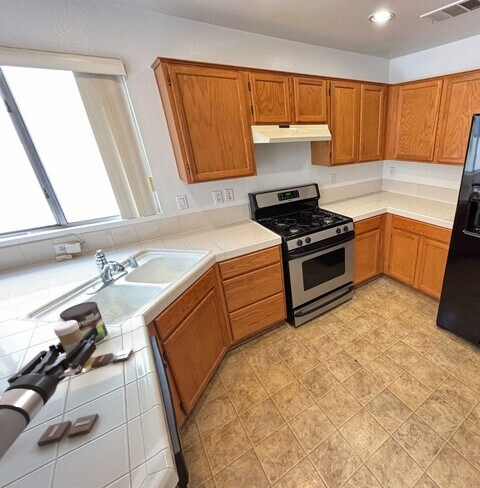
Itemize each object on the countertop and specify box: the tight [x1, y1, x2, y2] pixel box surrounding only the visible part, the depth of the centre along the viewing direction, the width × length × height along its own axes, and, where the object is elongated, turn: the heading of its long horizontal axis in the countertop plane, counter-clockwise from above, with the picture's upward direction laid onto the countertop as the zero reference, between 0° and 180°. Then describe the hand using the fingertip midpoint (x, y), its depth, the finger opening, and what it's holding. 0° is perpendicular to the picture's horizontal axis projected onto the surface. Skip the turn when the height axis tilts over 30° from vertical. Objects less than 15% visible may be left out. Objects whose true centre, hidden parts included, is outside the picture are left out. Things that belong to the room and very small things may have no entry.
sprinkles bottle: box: [53, 320, 94, 369], centre depth 71 cm, size 5×5×13 cm
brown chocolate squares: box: [36, 413, 100, 447], centre depth 66 cm, size 10×4×1 cm, turn 106°
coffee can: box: [59, 301, 110, 346], centre depth 98 cm, size 10×10×14 cm
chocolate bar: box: [66, 348, 134, 377], centre depth 89 cm, size 18×7×1 cm, turn 106°
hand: (85, 332), depth 76 cm, fingers closed on sprinkles bottle, 4 cm apart
